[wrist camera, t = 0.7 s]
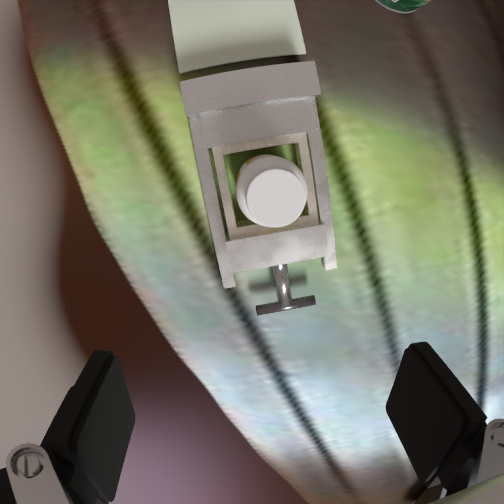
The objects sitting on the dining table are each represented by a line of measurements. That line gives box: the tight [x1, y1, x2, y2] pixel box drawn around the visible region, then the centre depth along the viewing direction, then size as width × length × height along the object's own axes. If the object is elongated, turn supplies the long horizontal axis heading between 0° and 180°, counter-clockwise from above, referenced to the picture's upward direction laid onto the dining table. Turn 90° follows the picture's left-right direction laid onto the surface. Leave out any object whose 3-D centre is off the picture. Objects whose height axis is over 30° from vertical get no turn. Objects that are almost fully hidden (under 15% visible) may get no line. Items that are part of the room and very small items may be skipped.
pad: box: [168, 0, 306, 74], centre depth 24 cm, size 12×12×1 cm
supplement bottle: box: [236, 154, 308, 227], centre depth 25 cm, size 5×5×10 cm
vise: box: [180, 61, 337, 315], centre depth 28 cm, size 12×23×4 cm, turn 10°
